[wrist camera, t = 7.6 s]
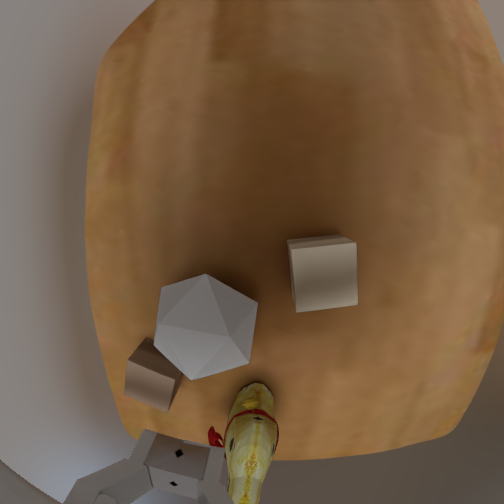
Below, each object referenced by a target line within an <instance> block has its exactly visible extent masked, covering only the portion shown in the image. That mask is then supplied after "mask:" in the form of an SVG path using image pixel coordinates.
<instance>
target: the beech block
mask: <svg viewBox="0 0 504 504" xmlns="http://www.w3.org/2000/svg"><path fill="white" fill-rule="evenodd" d="M287 246H288V256H289V267H290V278H291V290H292V296H293V300H294V304H295V308H296V313H297V312H306V311H314V310H322V309H330V308H337V307H344V306H351V305H358V276H357V248H356V242H354V241H352V240H350V239H348V238H347V237H345V236H343V235H341V234H338V235H329V236H319V237H309V238H300V239H290V240H287Z"/></svg>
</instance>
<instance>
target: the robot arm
mask: <svg viewBox="0 0 504 504" xmlns="http://www.w3.org/2000/svg"><path fill="white" fill-rule="evenodd" d="M224 454H225V448H220V447H214V446H211V445H206V444H201V443H196V442H191V441H187V440H181V439H177V438H174V437H170V436H167V435H163V434H160V433H157V432H154V431H151V430H147V429H145V430H144V431H143V432H142V434H141V436H140V438H139V440H138V442H137V444H136V446H135V448H134V450H133V452H132V454H131V456H130V458H129V459H126V458H125V459H123V460H121V461H119V462H117V463H114V464H112V465H110V466H108V467H106V468H104V469H101V470H99V471H97V472H95V473H92V474H90V475H88V476H85V477H83V478H80V479H78V480H77V481H76V483H75V484H74V486H73V488H72V490H71V491H70V493H69V495H68V496H67V498H66V500H65V501H64V503H63V504H130V503H132V502H133V501H135V500H136V499H138V498H139V497H141V496H142V495H144V494H145V493H147V492H148V491H150V490H151V489H152V487H153V488H156V489H160V490H164V491H167V492H172V493H175V494H179V495H183V496H186V497H190V498H194V499H197V501H198V503H199V504H234V502H233V500H232V499H231V497H230V495H229V494H228V492H227V490H226V489H225V487H224V485H223V484H219V481H220V476H221V470H222V465H223V459H224ZM0 504H62V503H60V502H58V501H57V500H55V499H53V498H52V497H50V496H49V495H47V494H45V493H44V492H42V491H41V490H39V489H38V488H36V487H35V486H34V485H32V484H30V483H29V482H28V481H27V480H25V479H24V478H22V477H21V476H20V475H18V474H17V473H16V472H15V471H13V470H12V469H11V468H9V467H8V466H7V465H6V464H5V463H3V462H2V461H1V460H0Z"/></svg>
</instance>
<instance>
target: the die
mask: <svg viewBox="0 0 504 504" xmlns="http://www.w3.org/2000/svg"><path fill="white" fill-rule="evenodd" d="M257 307H258V303H257V302H256V301H254V300H252V299H250V298H248V297H247V296H245V295H243V294H241V293H239V292H238V291H236V290H234V289H232V288H230V287H229V286H227V285H225V284H223V283H222V282H220V281H218V280H216V279H215V278H213V277H211V276H210V275H208V274H203V275H200V276H196V277H193V278H190V279H187V280H183V281H180V282H177V283H174V284H170V285H167V286H164V287H161V293H160V300H159V307H158V314H157V322H156V330H155V338H154V346H155V347H156V348H157V349H158V350H159V351H160V352H161V353H162V354H163V355H164V356H165V357H166V358H167V359H168V360H169V361H171V362H172V363H173V364H174V365H175V366H176V367H177V368H178V369H179V370H180V371H181V372H182V373H184V374H185V375H186V376H187V377H188V378H189V379H190V380H195V379H198V378H202V377H206V376H209V375H213V374H216V373H219V372H223V371H226V370H229V369H233V368H236V367H239V366H242V365H245V364H248V363H249V361H250V355H251V348H252V341H253V334H254V328H255V321H256V314H257Z"/></svg>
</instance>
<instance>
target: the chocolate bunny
mask: <svg viewBox="0 0 504 504" xmlns="http://www.w3.org/2000/svg"><path fill="white" fill-rule="evenodd" d="M276 425H277V422H276V420H275V416H274V398H273V396H272V393H271V391H270V390H269V389H268V388H267V387H266V386H265V385H264V384H259V383H253V384H251V385H248V386H246V387H244V388H243V389H242V390H241V391H240V392H239V393H238V394H237V398H236V400H235V402H234V405H233V407H232V409H231V411H230V413H229V418H228V423H227V428H226V431H225V435H226V438H225V435H224V441H225V444H224V443H223V446H222V445H221V444H220V442H219V441H218V439H220V440H222V442H223V439H222V437H221V435H220V434H219V433H217V432H216V433H215V430H214V428H213V426H212V427H210V429H209V432H208V439H209V444H210V445H211V446H217V447H220V448H223V447H224V448H225V452H226V453H225V454H224V457H225V459H226V460H227V464H228V477H229V479H228V480H229V484H228V490H227V492H228V494H229V495H230V497H231V499H232V500H233V502H234V504H258V502H259V500H260V493H261V486H262V482H263V480H264V477H265V475H266V472H267V470H268V468H269V465H270V462H271V460H272V457H273V455H274V452H275V450H276V447H277V443H278V438H279V429H278V425H277V426H276ZM226 432H227V433H226Z"/></svg>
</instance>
